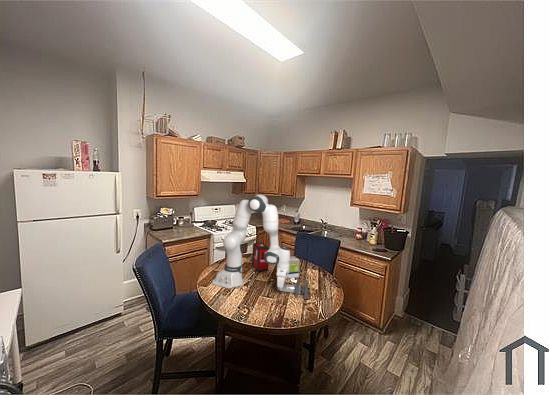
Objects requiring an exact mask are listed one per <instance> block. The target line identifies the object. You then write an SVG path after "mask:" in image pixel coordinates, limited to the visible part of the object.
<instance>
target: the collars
mask: <svg viewBox="0 0 549 395" xmlns="http://www.w3.org/2000/svg"><path fill="white" fill-rule="evenodd" d="M304 283H305V285H304V291H303V298H304V299H308V292H309V293H312V286H313V279H310V282H309V281H308V280H305V282H304ZM309 283H310V284H309ZM300 284H301V280H300V279H296V284H295V286H296V293H294V297H295V298H299V295H300V294H299V286H301V285H300Z"/></svg>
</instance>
